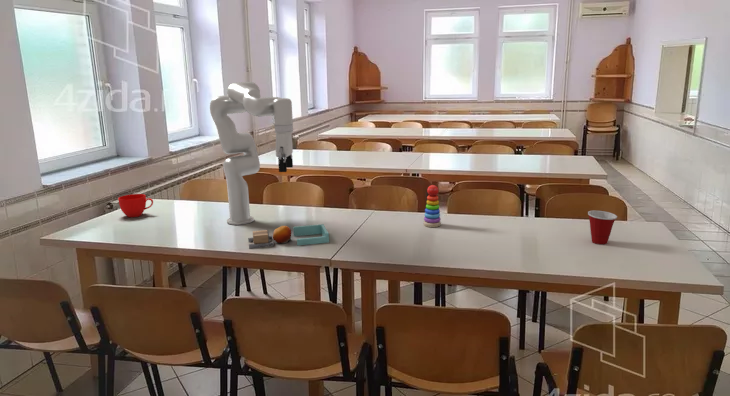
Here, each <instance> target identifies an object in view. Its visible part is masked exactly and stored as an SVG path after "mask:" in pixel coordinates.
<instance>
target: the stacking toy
mask: <svg viewBox="0 0 730 396" xmlns="http://www.w3.org/2000/svg"><path fill="white" fill-rule="evenodd" d="M426 192H427V194H428V195H427V197H426V199H427V200H426V205H425V209H424V218H423V220H424V221H423V225H424V226H425V227H428V228H438V227H440V226H441V225H442V224H441V223H442V222H441V213H440V205H439V204H440V201H439V196H438V195H439V188H438V186H437V185H434V184H431V185H429V186H428V187H427V191H426Z"/></svg>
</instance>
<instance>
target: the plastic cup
mask: <svg viewBox="0 0 730 396" xmlns="http://www.w3.org/2000/svg"><path fill="white" fill-rule="evenodd" d="M587 215H588V218H589V228H590V229H589V230H590V236H591V243H593V244H596V245H607V244H608V242H609V239H610V235H611V232H612V229H613V225H614V223H615V222H616V220H617V218H618V215H616V214H615V213H613V212H609V211H604V210H603V211H602V210H589V211H587Z"/></svg>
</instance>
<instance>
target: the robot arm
mask: <svg viewBox="0 0 730 396" xmlns="http://www.w3.org/2000/svg"><path fill="white" fill-rule="evenodd" d="M226 90H227V91H226V93H227V94H226V95H217V96H215V97H213V98H212V99H211V101H210V103H209V112H210V116H211V117H212V121H214V122H213V123H214V125H215V127H216V129H217V135H218V139H219V143H220V147H221V149H222V152H223V153H224V154H227V155H234V156H231V157H228V158H226V159H225V160H224V161H223V163H222V166H223V173H224V176H225V180H226V189H227V198H228V209H229V218H227V219H226V223H227V224H229V225H232V226H233V225H235V226H237V225H240V226H242V225H245V224H246V225H248V224H251V223H253V222H254V221H255V219H254V217H253V216H251V211H250V210H251V209H250V198H249V186H248V185H249V184H248V183H247V181H246V180H245V179H244V176H249V175H254V174H257V173H258V172H259V171H260V168H261V164H260V157H259V154H258V150H257V145H256V142H255V139H254V137H253V135H252V134H250V133H249V132H246V131H245V132H238V130H237V128H236V123H235V122H234V120H232V118H231V117H230V116H229V115H230V114H231V115H232V114H242V113H245V112H247V113H248V114H250V115H253V116H255V117H272V116H273V122H274V123H273V124H274V133H275V156H276V158H277V160H278V161H277V163H278V172H279V173H287V172H288V169H287V168H290V169H291V168H293V167H294V164H293V162H294V161H293V151H294V150H293V146H294V145H293V138H292V137H293V135H292V133H294V124H293V123H294V121H293V104H292V100H291V99H290V98H286V97H284V98H282V97H278V96H272V97H261V89H260V87H259V86H258V84H256V82H252V81H244V82H243V81H242V82H233V83H231V84H230V85H229V86H228V88H227V89H226ZM242 153H243V155H236V154H242ZM235 155H236V156H235Z"/></svg>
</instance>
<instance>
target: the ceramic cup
mask: <svg viewBox="0 0 730 396" xmlns="http://www.w3.org/2000/svg"><path fill="white" fill-rule="evenodd" d="M148 201H150V202H151V204H150V205H149V206H147V207H146V205H147V202H148ZM118 204H119V209H120V210H121V212H122V213H123V214H124V215H125V216H127V217H128V218H139V217H141V216H142V214H143V213H144V212H145V210H147V209H149V208H151V207H152V206H153V205H154V199H152V198H151V197H150V198H149V197H147V195H146V194H145V193H143V194H142V193H132V194H125V195H122V196H118Z"/></svg>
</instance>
